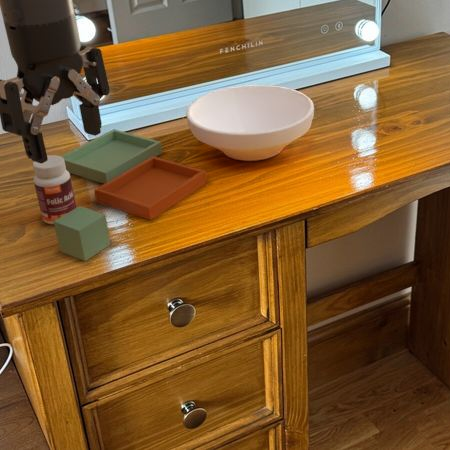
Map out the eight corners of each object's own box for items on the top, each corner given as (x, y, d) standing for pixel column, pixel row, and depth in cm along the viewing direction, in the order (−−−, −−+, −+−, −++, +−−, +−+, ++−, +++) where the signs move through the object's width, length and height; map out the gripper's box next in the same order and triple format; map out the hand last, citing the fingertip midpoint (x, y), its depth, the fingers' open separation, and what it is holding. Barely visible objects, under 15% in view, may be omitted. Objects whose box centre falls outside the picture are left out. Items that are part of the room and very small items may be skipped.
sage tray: (107, 185, 112) (105, 173, 111) (59, 169, 117) (56, 157, 116) (162, 153, 121) (161, 141, 120) (115, 140, 126) (113, 128, 125)
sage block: (85, 261, 95) (78, 230, 93) (60, 251, 97) (53, 221, 95) (111, 244, 98) (105, 214, 96) (86, 235, 100) (80, 205, 98)
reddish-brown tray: (150, 220, 103) (148, 207, 102) (96, 202, 108) (94, 189, 107) (207, 183, 112) (205, 170, 111) (154, 167, 117) (152, 155, 116)
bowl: (207, 188, 110) (202, 143, 107) (179, 136, 126) (174, 95, 122) (333, 164, 116) (333, 120, 112) (291, 117, 131) (289, 77, 128)
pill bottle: (52, 229, 102) (39, 173, 97) (36, 216, 105) (23, 161, 100) (84, 216, 104) (73, 161, 100) (67, 204, 108) (56, 150, 103)
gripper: (63, -8, 90) (87, 120, 98) (-40, 25, 80) (-3, 164, 88) (110, -1, 86) (131, 131, 95) (8, 34, 76) (42, 178, 85)
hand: (67, 147), depth 92 cm, fingers open, 8 cm apart
